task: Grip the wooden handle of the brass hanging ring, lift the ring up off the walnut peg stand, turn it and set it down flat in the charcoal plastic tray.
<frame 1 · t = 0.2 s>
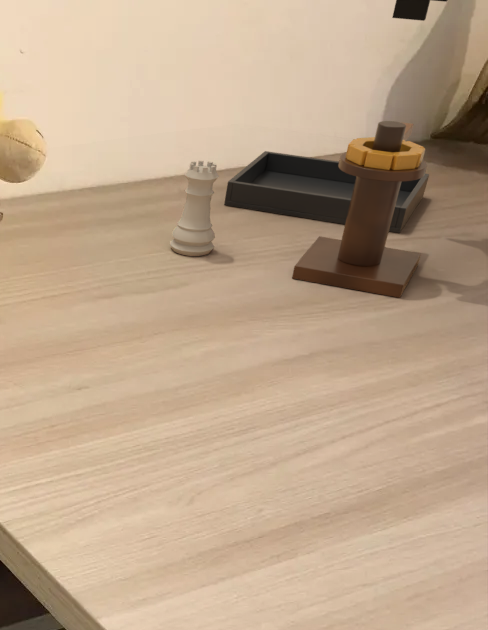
hand: (421, 9, 95), 20 cm above the table, tool pointing down, fingers open, 13 cm apart
hanging ring: (383, 160, 93), point 10 cm above the table, touching peg stand
peg stand: (356, 271, 100), on the table
rook chess piece: (190, 251, 104), on the table
tray: (325, 201, 117), on the table
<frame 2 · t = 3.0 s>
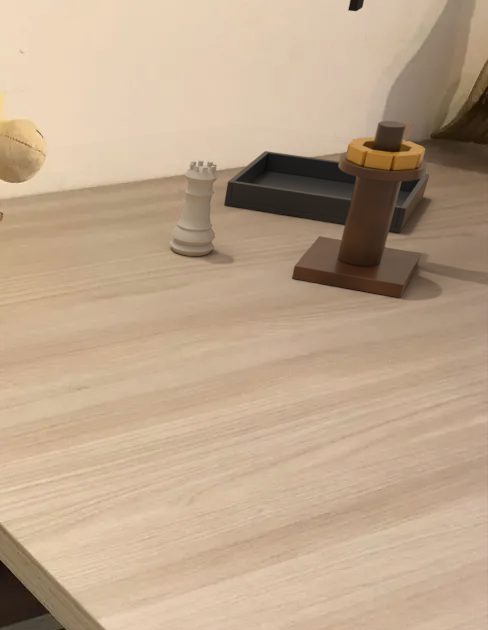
hand: (430, 16, 93), 20 cm above the table, tool pointing down, fingers open, 13 cm apart
nothing on the table moved.
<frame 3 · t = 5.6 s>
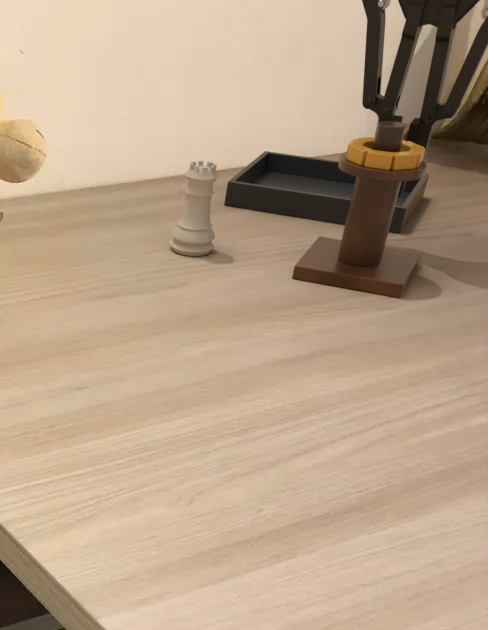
hand: (388, 191, 103), 5 cm above the table, tool pointing down, fingers closed on hanging ring
hanging ring: (383, 160, 93), point 10 cm above the table, touching gripper, peg stand
everything else where it was.
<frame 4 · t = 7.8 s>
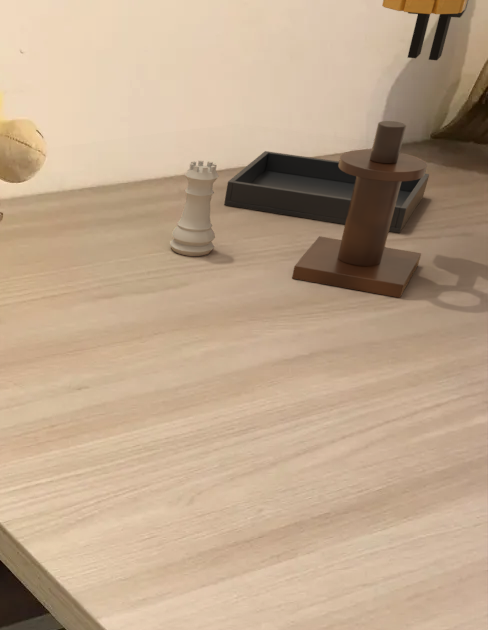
hand: (424, 56, 96), 17 cm above the table, tool pointing down, fingers closed on hanging ring
hanging ring: (423, 8, 86), point 22 cm above the table, touching gripper
everything else where it was.
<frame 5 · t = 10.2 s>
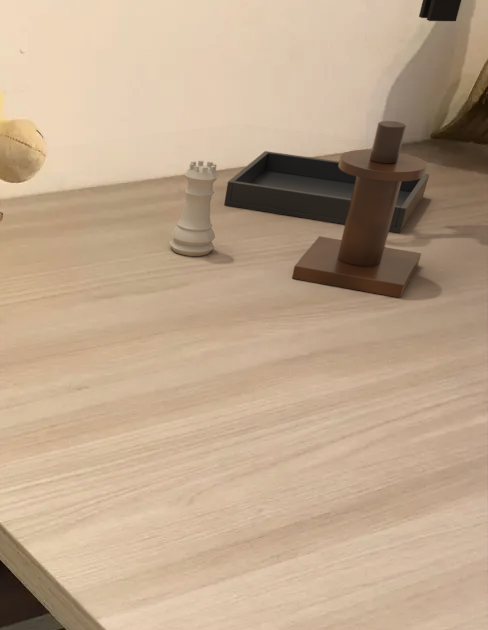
hand: (437, 18, 103), 18 cm above the table, tool pointing down, fingers closed on hanging ring
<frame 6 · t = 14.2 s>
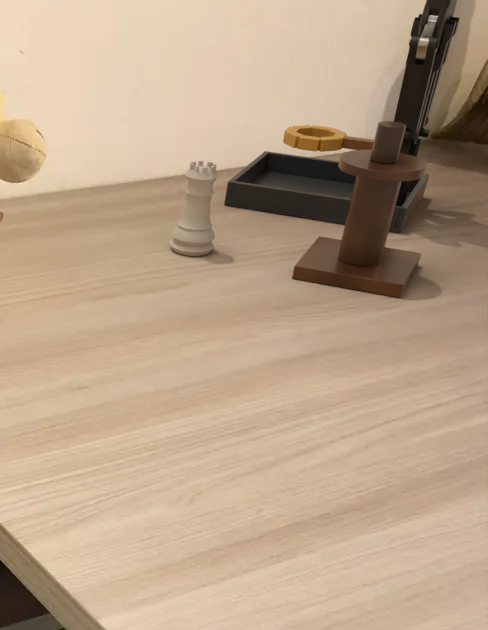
hand: (390, 203, 115), 1 cm above the table, tool pointing down, fingers closed on hanging ring
hanging ring: (313, 143, 115), point 6 cm above the table, touching gripper
everything else where it was.
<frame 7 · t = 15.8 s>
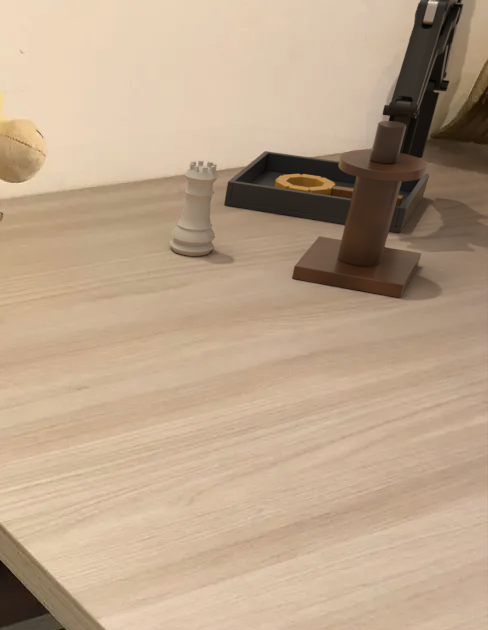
hand: (398, 170, 112), 4 cm above the table, tool pointing down, fingers open, 13 cm apart
hanging ring: (303, 192, 118), resting on tray
everything else where it was.
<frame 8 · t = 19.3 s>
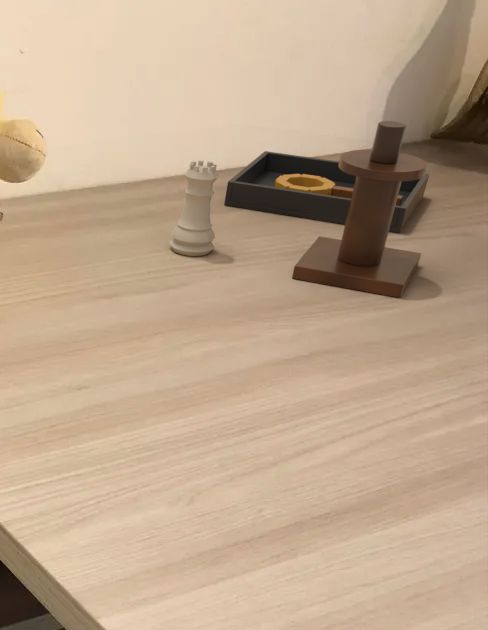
nothing on the table moved.
at the end: hanging ring inside the target area in the tray (2.7 cm from its centre), point 0.5 cm above the tray's base; hanging ring touching tray; the gripper is holding nothing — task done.
